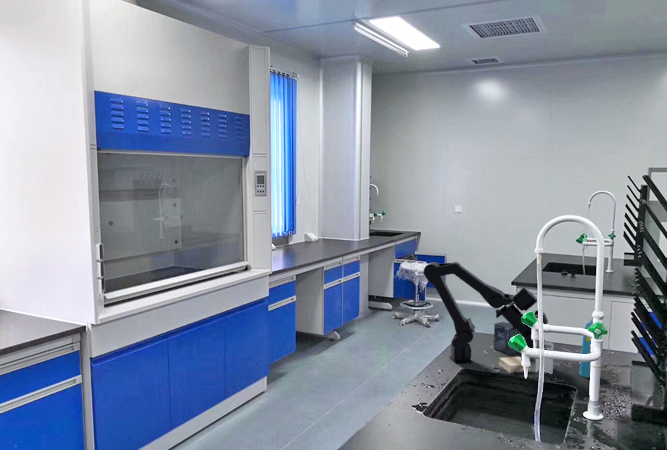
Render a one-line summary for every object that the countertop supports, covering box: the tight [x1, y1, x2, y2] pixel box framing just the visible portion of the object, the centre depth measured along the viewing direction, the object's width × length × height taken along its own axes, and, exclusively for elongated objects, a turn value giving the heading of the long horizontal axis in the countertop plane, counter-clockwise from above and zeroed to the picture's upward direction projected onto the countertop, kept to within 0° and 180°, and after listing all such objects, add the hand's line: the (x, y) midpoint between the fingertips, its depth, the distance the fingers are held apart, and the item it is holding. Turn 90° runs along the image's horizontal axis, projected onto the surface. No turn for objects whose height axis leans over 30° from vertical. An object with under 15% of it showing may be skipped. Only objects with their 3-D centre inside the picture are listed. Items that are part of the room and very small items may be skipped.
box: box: [493, 321, 520, 355], centre depth 200 cm, size 8×6×11 cm
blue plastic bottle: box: [578, 318, 594, 379], centre depth 173 cm, size 7×5×19 cm, turn 144°
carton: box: [534, 340, 554, 375], centre depth 179 cm, size 6×6×10 cm
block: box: [498, 356, 532, 374], centre depth 182 cm, size 8×8×3 cm
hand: (548, 352), depth 178 cm, fingers closed on carton, 5 cm apart
